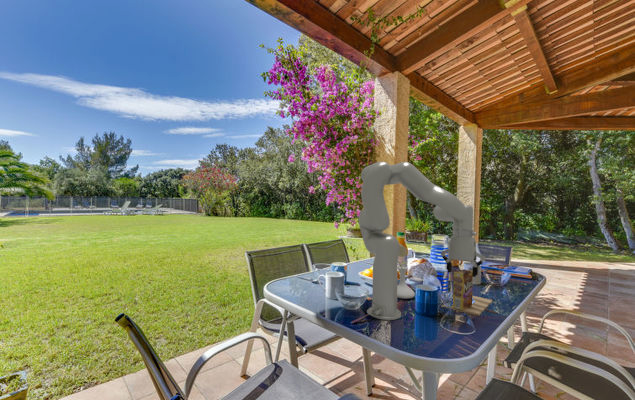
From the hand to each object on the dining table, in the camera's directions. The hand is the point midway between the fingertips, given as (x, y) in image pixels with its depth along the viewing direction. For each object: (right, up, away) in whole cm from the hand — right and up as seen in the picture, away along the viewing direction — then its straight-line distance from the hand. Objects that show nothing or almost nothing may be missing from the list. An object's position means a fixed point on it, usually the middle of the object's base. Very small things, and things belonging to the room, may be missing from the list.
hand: (461, 274), depth 117 cm
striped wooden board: (+6, -15, +5) cm, 17 cm away
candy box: (0, -14, -1) cm, 14 cm away
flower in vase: (-21, -15, +15) cm, 30 cm away
